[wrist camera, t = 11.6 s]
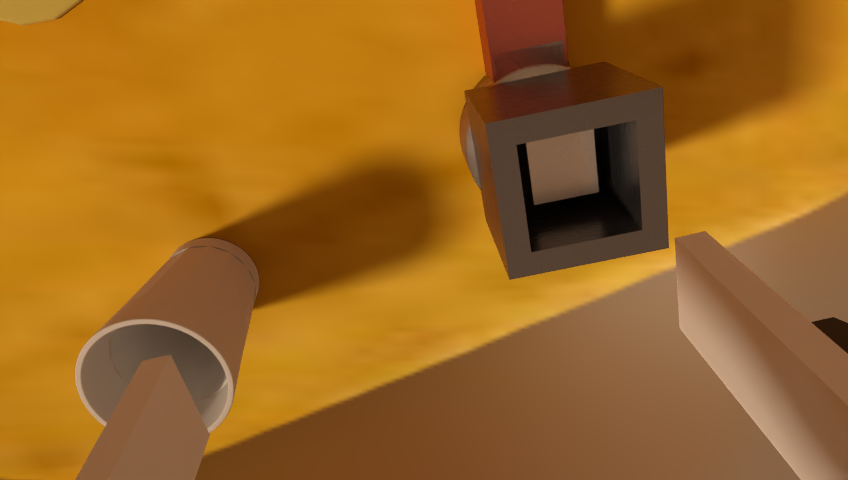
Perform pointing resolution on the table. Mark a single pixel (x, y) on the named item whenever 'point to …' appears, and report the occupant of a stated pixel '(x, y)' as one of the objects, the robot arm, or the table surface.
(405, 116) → the table surface
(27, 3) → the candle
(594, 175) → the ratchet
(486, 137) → the socket
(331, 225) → the table surface
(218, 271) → the cup
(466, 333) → the table surface
